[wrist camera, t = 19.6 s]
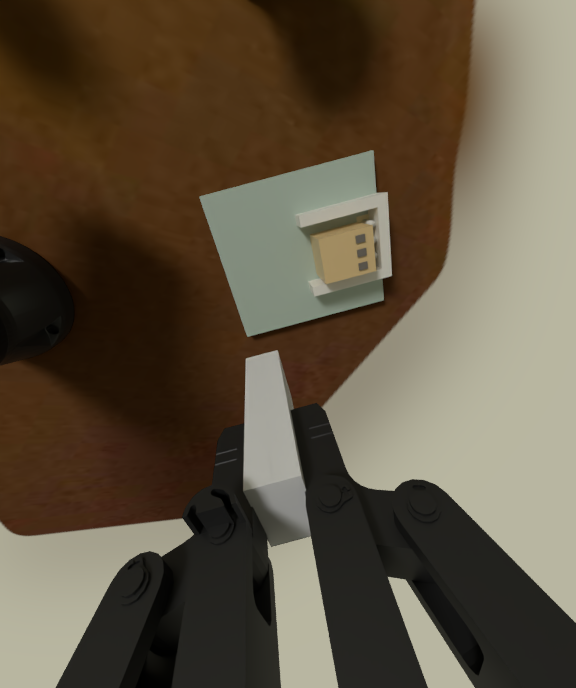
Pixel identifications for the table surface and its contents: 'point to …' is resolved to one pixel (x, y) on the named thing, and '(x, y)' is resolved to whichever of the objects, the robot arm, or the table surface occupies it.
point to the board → (297, 241)
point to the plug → (344, 252)
